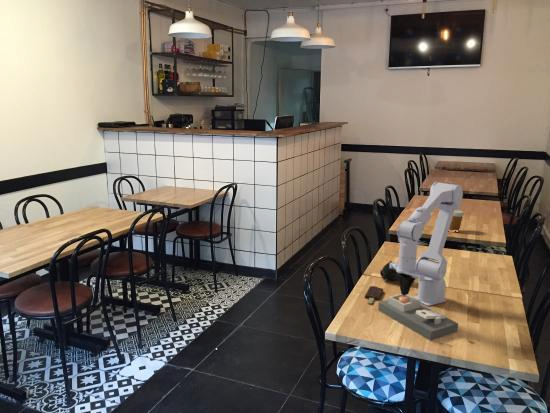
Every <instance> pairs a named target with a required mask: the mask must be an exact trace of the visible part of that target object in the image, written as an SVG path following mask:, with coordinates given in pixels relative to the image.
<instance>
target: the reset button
mask: <svg viewBox="0 0 550 413" xmlns="http://www.w3.org/2000/svg"><path fill="white" fill-rule="evenodd" d="M399 301H400V302H402V303H404V304H405V303H409V301H410V299H409V298H408V297H404V296H401V297H399Z"/></svg>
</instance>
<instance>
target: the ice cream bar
mask: <svg viewBox="0 0 550 413" xmlns="http://www.w3.org/2000/svg"><path fill="white" fill-rule="evenodd" d="M383 293H384V288H382V287H378V286H375V285H374V286H373V285H371V286H370V285H369V287H368V290H367V291H366V293H365V295H364V299H366V300H367V304H368V305H372V304H373V302H374V301H377V302H380V299H381V297H382V295H383Z"/></svg>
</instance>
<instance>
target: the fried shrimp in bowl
mask: <svg viewBox="0 0 550 413" xmlns="http://www.w3.org/2000/svg"><path fill="white" fill-rule="evenodd" d="M391 262H393V261H392V260H389V261H388V262H387V263H386V264H384V265H383V267H382V269H380V272H379V274H380V276H381V279H382V280H383V281H385V280H386V281H387V282H398V279H397V277H396V274H397V273H398V272H396V270H395V269H393V268H392V269H391V268H389V267H390V263H391ZM398 283H399V282H398Z"/></svg>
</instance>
